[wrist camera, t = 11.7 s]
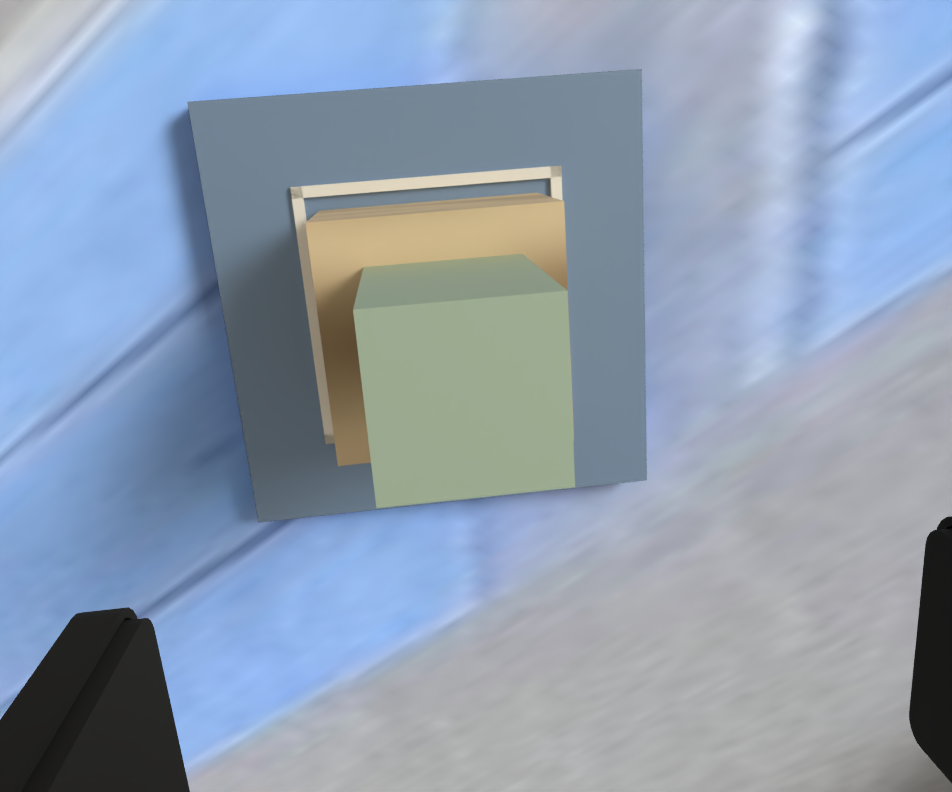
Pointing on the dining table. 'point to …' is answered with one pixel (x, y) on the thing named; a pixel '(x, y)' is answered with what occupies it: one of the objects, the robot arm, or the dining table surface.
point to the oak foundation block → (411, 241)
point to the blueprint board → (411, 181)
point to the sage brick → (465, 379)
